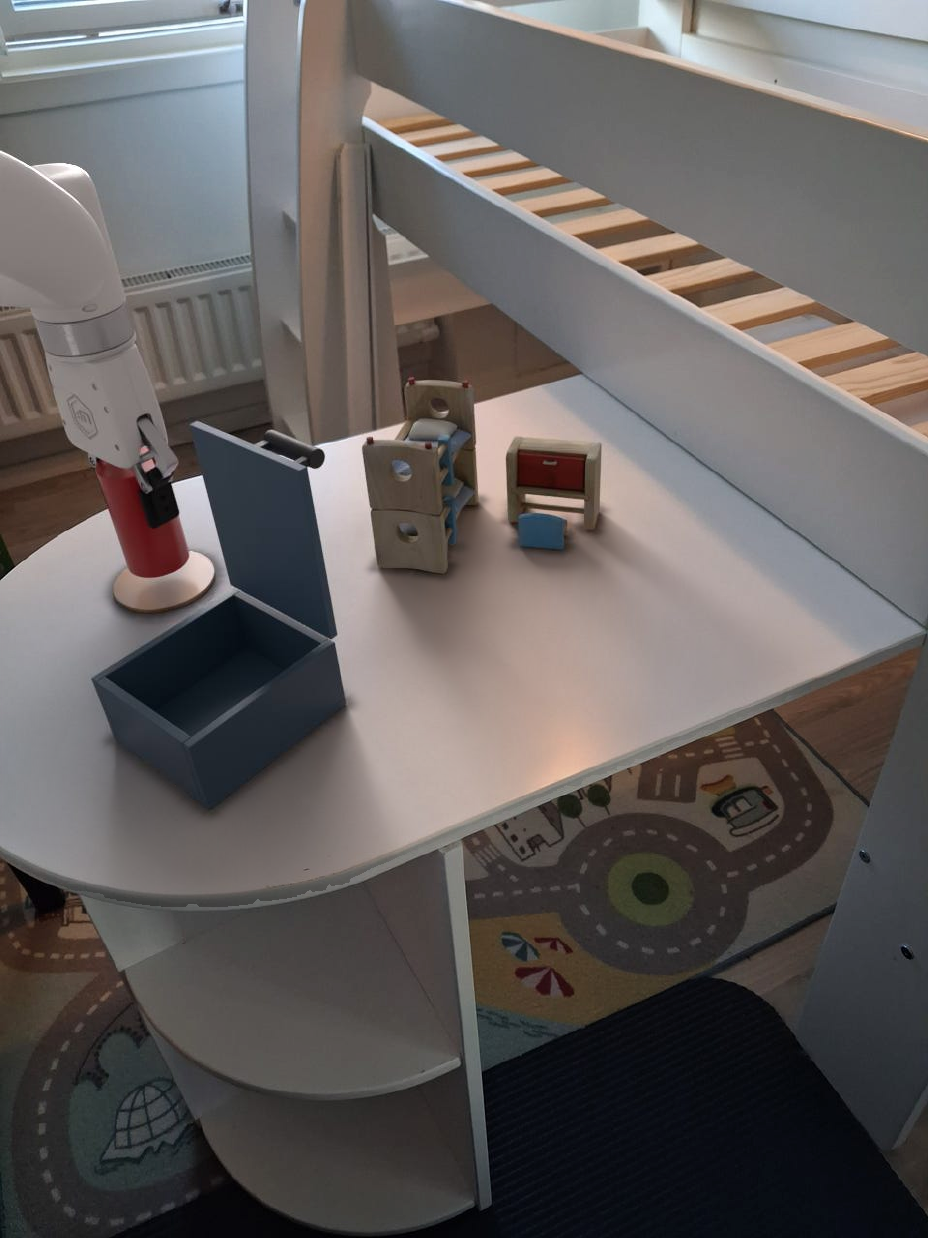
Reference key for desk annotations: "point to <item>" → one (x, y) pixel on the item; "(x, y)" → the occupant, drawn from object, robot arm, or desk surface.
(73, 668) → the desk surface
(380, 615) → the desk surface
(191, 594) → the coaster
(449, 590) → the desk surface
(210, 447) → the lid
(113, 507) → the can
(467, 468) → the dollhouse furniture set
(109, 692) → the blue rectangular box
